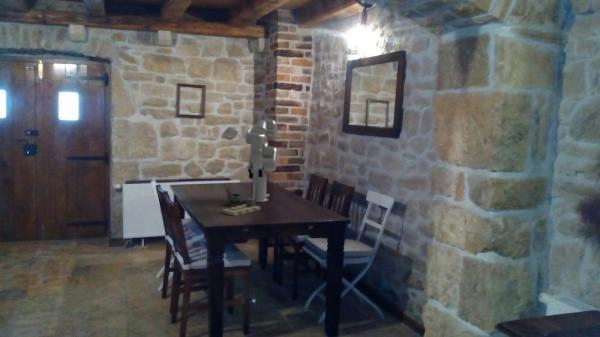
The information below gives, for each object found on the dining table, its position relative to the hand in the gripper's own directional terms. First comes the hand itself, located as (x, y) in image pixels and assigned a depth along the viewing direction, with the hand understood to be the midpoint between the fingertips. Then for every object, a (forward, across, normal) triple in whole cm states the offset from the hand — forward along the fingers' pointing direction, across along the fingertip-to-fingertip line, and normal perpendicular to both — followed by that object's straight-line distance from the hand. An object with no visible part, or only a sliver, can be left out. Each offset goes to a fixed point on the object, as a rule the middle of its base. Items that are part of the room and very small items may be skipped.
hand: (255, 177), depth 329 cm
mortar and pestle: (+21, +4, -17) cm, 27 cm away
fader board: (+20, +16, +2) cm, 26 cm away
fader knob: (+18, +6, +1) cm, 19 cm away
